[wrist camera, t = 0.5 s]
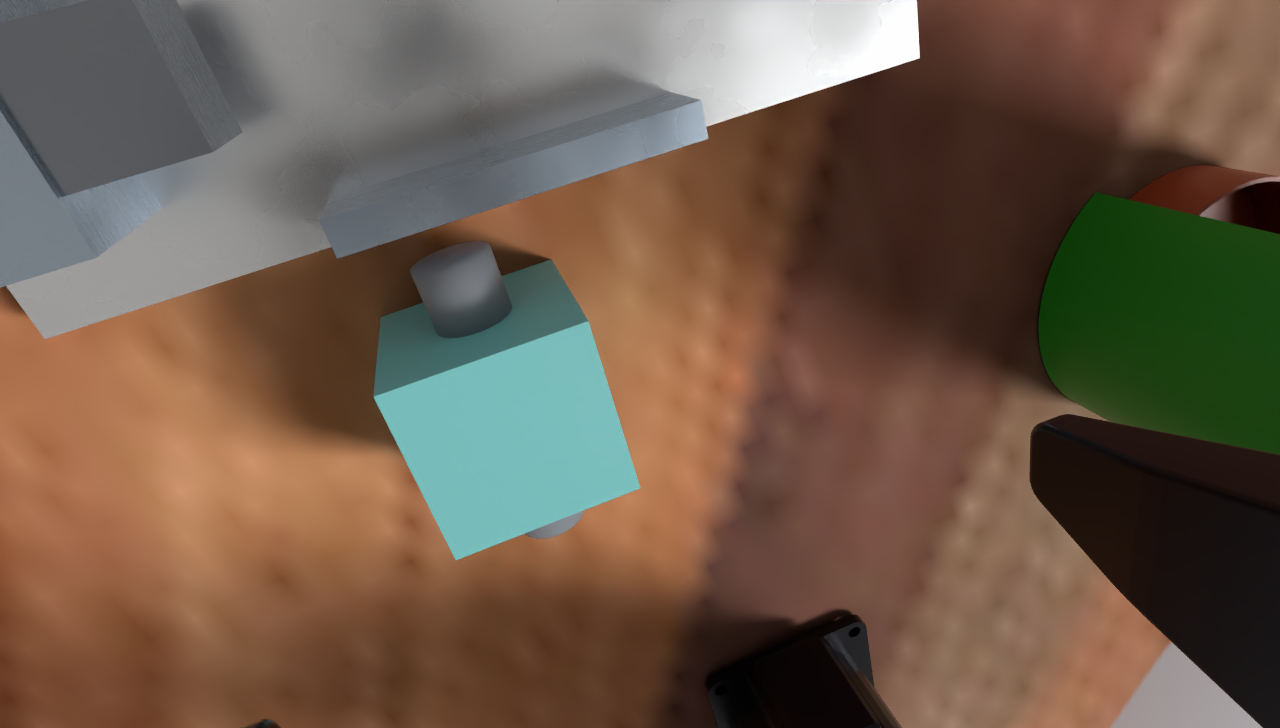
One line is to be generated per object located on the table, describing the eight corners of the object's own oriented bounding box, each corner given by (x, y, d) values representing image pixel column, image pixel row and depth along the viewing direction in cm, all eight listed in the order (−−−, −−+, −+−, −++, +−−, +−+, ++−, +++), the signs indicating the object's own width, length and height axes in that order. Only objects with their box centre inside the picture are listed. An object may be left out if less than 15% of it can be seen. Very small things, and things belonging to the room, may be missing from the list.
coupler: (532, 203, 18) (567, 254, 14) (610, 442, 22) (655, 534, 18) (355, 261, 17) (340, 330, 14) (465, 497, 21) (478, 605, 17)
